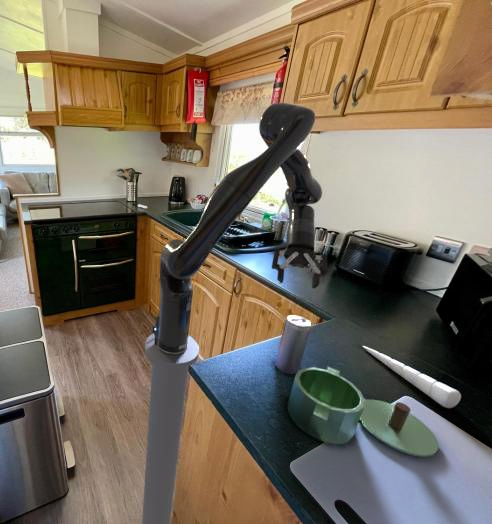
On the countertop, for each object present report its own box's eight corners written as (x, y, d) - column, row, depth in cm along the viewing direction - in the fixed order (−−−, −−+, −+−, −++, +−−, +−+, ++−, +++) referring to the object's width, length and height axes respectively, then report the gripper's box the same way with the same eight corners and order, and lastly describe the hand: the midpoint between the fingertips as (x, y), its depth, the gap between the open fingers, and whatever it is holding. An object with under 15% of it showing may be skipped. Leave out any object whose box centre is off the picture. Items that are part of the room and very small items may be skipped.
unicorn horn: (372, 346, 90) (377, 333, 89) (458, 409, 68) (467, 393, 67) (359, 347, 90) (363, 334, 88) (441, 410, 68) (449, 394, 66)
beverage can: (271, 359, 82) (282, 314, 77) (292, 361, 82) (304, 315, 77) (280, 374, 77) (292, 326, 72) (302, 375, 77) (316, 327, 72)
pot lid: (352, 430, 61) (361, 408, 59) (358, 394, 71) (365, 374, 69) (440, 473, 53) (453, 450, 51) (432, 425, 63) (443, 404, 61)
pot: (277, 428, 61) (285, 396, 58) (297, 382, 75) (305, 354, 72) (347, 467, 54) (361, 434, 51) (356, 408, 67) (367, 379, 64)
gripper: (277, 227, 87) (273, 275, 81) (331, 232, 83) (330, 284, 77) (273, 240, 94) (268, 285, 87) (322, 245, 89) (321, 294, 83)
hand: (297, 284), depth 82 cm, fingers open, 8 cm apart
